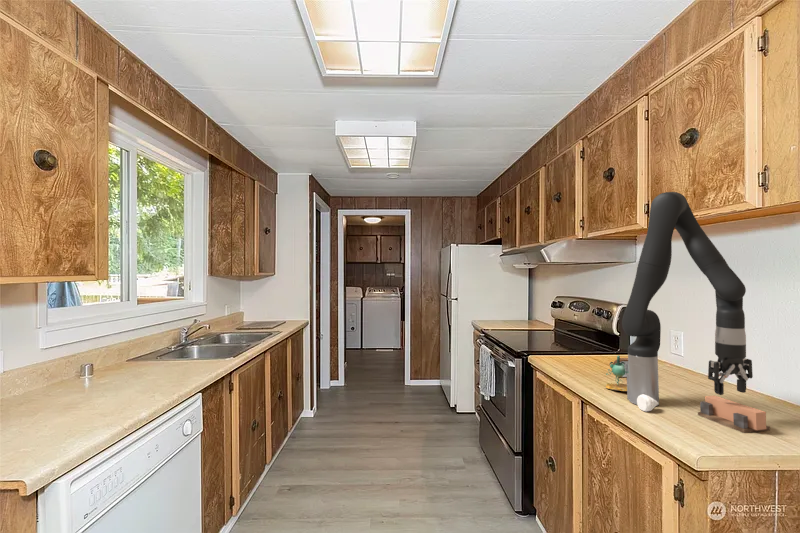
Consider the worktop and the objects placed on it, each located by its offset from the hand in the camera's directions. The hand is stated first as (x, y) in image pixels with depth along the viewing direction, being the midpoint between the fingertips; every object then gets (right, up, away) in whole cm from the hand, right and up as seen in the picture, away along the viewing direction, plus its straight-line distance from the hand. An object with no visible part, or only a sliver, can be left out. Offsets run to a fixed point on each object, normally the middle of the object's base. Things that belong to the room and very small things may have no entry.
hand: (730, 393), depth 127 cm
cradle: (0, -9, -1) cm, 9 cm away
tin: (-1, -10, +52) cm, 53 cm away
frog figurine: (-16, -10, +34) cm, 39 cm away
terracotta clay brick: (0, -8, -2) cm, 8 cm away
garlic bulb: (-19, -10, +11) cm, 24 cm away
